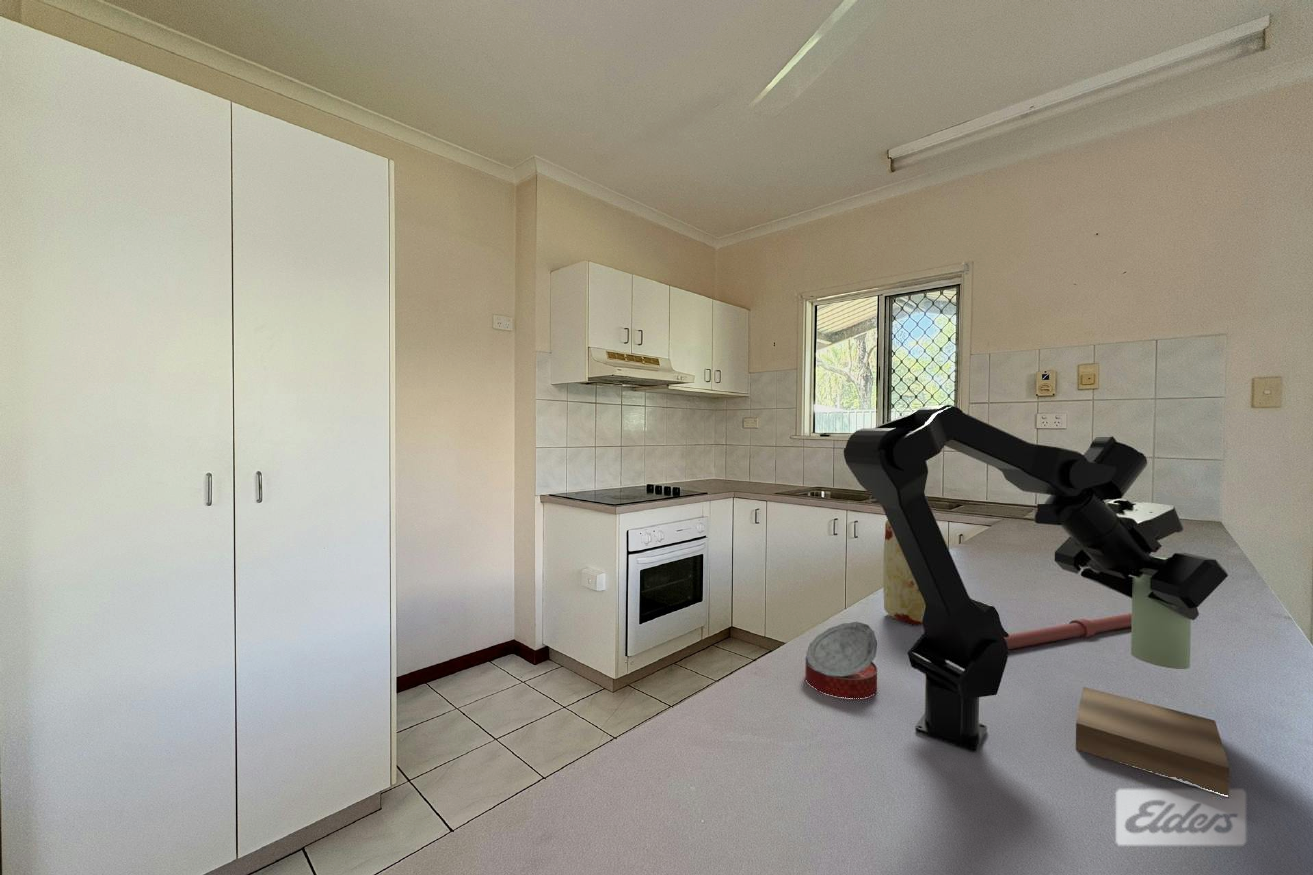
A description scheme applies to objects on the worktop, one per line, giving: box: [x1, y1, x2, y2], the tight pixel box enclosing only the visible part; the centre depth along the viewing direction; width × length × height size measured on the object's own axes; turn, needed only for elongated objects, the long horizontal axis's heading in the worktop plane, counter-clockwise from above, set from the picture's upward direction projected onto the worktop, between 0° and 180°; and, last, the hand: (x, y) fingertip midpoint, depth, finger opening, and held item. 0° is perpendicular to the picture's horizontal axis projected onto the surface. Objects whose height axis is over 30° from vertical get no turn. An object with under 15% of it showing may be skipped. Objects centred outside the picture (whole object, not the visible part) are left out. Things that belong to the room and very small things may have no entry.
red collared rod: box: [1004, 612, 1132, 650], centre depth 94 cm, size 45×3×3 cm, turn 110°
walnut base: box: [1075, 686, 1231, 797], centre depth 61 cm, size 12×12×3 cm
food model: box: [882, 519, 925, 626], centre depth 102 cm, size 10×7×20 cm
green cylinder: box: [1130, 556, 1192, 670], centre depth 69 cm, size 6×6×13 cm
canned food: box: [804, 621, 878, 699], centre depth 76 cm, size 11×10×10 cm
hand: (1170, 609), depth 69 cm, fingers closed on green cylinder, 6 cm apart
